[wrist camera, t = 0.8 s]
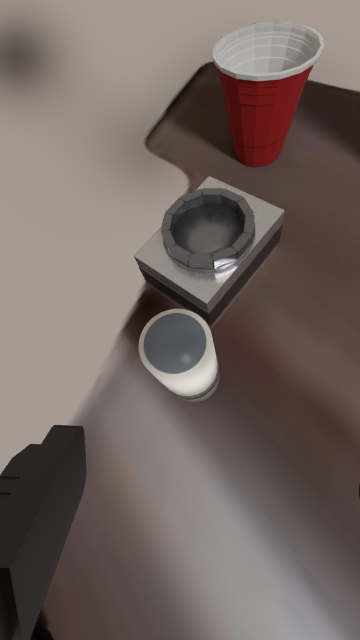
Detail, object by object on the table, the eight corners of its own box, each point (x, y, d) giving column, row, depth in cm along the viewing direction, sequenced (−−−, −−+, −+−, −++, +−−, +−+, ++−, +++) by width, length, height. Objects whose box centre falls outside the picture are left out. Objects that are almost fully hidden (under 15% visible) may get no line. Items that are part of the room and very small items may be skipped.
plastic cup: (317, 137, 40) (348, 19, 29) (273, 192, 38) (288, 87, 27) (246, 114, 44) (250, 4, 33) (202, 163, 42) (190, 61, 31)
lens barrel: (189, 340, 32) (170, 294, 23) (231, 370, 30) (228, 334, 21) (156, 380, 31) (122, 349, 22) (197, 415, 29) (179, 396, 20)
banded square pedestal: (213, 215, 38) (207, 163, 31) (277, 248, 34) (287, 198, 28) (148, 286, 35) (128, 246, 29) (211, 330, 32) (205, 296, 25)
